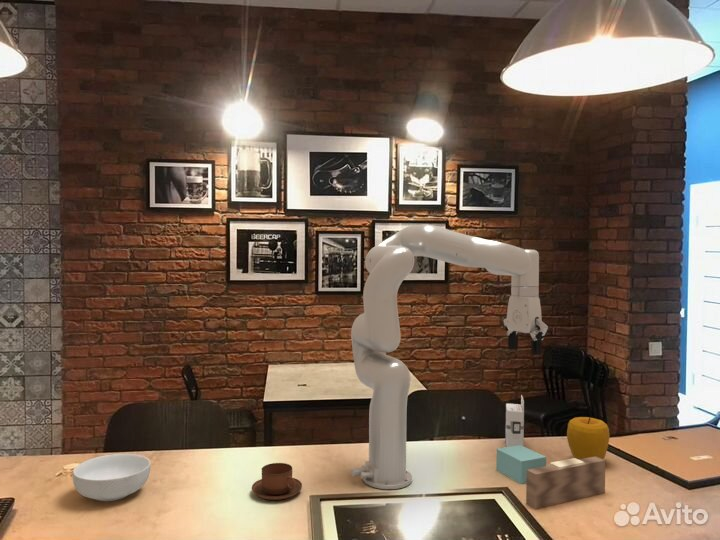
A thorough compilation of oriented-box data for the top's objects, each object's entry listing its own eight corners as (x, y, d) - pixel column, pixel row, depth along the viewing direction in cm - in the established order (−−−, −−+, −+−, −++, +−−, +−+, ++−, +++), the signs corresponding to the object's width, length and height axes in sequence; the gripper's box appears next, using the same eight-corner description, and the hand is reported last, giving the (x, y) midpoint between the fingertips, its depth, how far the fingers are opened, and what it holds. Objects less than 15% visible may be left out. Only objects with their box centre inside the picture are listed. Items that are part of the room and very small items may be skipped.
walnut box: (535, 509, 128) (535, 471, 128) (525, 503, 131) (526, 467, 131) (605, 492, 138) (605, 457, 137) (594, 488, 140) (595, 453, 140)
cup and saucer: (309, 487, 140) (310, 462, 140) (288, 507, 128) (288, 481, 128) (266, 480, 144) (266, 456, 144) (242, 500, 132) (242, 474, 132)
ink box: (505, 440, 177) (505, 393, 176) (521, 441, 176) (522, 394, 175) (506, 449, 168) (507, 400, 168) (523, 450, 167) (524, 401, 167)
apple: (565, 466, 155) (566, 420, 154) (567, 453, 165) (568, 410, 164) (609, 472, 151) (610, 424, 150) (608, 459, 161) (609, 414, 160)
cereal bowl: (73, 516, 123) (72, 484, 123) (72, 488, 138) (72, 459, 138) (155, 501, 131) (155, 471, 131) (146, 476, 146) (146, 449, 146)
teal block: (521, 484, 143) (521, 461, 142) (496, 470, 152) (496, 448, 152) (545, 479, 146) (546, 456, 146) (519, 466, 155) (520, 444, 155)
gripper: (495, 290, 168) (494, 348, 169) (536, 294, 153) (535, 357, 153) (514, 290, 171) (514, 346, 172) (557, 293, 156) (556, 355, 156)
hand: (524, 351), depth 162 cm, fingers open, 9 cm apart
